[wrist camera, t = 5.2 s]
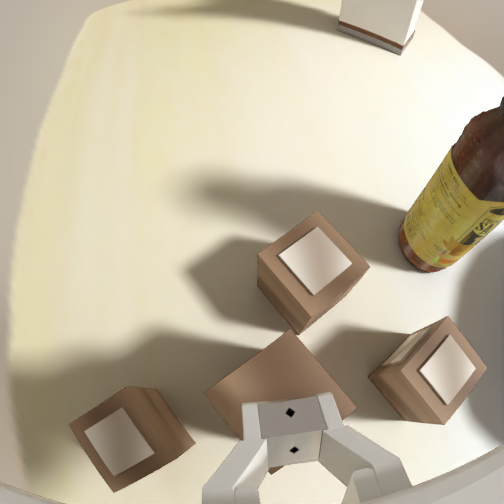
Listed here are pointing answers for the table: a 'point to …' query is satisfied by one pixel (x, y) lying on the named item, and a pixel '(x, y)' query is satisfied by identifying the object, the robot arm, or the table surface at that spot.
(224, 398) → the plain block
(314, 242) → the white-paneled wooden block
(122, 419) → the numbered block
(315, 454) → the robot arm
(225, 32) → the table surface
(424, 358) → the white paneled block
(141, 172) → the table surface
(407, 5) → the spiral tower model
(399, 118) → the table surface
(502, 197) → the sauce bottle
